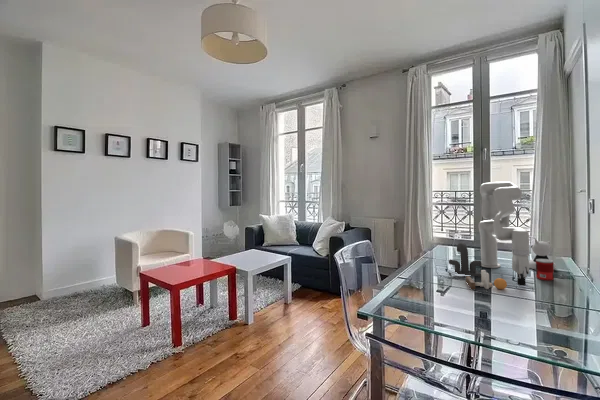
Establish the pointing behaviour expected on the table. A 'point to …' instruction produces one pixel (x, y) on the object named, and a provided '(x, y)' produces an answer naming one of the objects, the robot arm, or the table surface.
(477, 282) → the front pin
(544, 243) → the decorative figurine
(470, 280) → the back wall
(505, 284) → the ball
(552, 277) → the canned food
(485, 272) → the pin
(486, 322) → the table surface
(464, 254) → the faucet
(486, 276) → the pin
